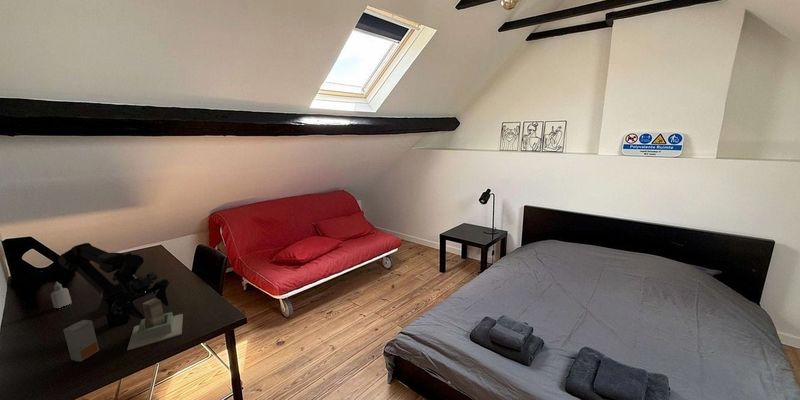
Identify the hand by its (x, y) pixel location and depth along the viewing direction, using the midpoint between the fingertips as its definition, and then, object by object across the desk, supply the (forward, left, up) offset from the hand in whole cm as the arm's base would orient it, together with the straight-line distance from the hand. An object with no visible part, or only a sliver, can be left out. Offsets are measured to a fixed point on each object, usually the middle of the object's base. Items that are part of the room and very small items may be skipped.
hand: (155, 311), depth 123 cm
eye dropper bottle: (-39, +48, -9) cm, 62 cm away
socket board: (-1, +1, -9) cm, 9 cm away
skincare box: (-21, -2, -9) cm, 23 cm away
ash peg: (-1, +1, -8) cm, 8 cm away
